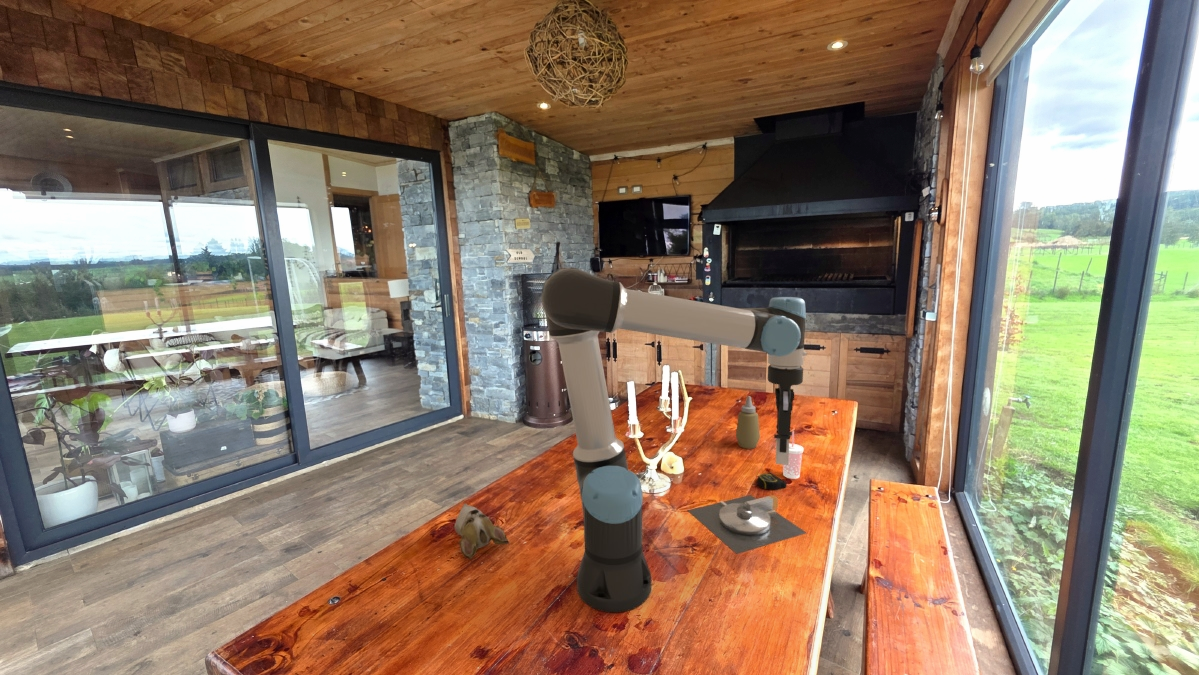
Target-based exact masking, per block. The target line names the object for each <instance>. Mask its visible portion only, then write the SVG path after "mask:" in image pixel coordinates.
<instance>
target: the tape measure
mask: <svg viewBox="0 0 1199 675" xmlns="http://www.w3.org/2000/svg"><path fill="white" fill-rule="evenodd" d="M756 484H757V485H758V487H760V488H762V489H765V490H769V491H779V490H781V489H786V488H787V486H788V485H787V482H786V481H785V480H783V479H782V478H781V477H778V476H777V475H776V474H774V473H772V472H768V473H761V474H759V475H758V476H757V479H756Z"/></svg>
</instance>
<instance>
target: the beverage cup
mask: <svg viewBox="0 0 1199 675" xmlns="http://www.w3.org/2000/svg"><path fill="white" fill-rule="evenodd" d="M791 432H792V436H791V443H790V442H789V461H788V465H782V473H783V474H782V475H783V476H784V477H786V478H787V479H792V480H795V479H800V476H801V466H802V461H803V460H802V459H803V452H804V447H803V446H802V445H800V444H796V443H795V431H794V430H792V431H791Z"/></svg>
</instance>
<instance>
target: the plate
mask: <svg viewBox="0 0 1199 675" xmlns="http://www.w3.org/2000/svg"><path fill="white" fill-rule="evenodd" d="M755 499H757V498H756V497H755V496H753V495H751V494H749V495H745V496H740V497H736V498H732V499H729V500H725V501H723V500H719V502H716V503H712V504H709V505H704V506H700V507H696V508H691V509H688V510H687V512H688V513H689V514H691V516H693V517H694V518H695V519H696V520H697V521H699V522H700V523H701V524H702V525H703V526H704V527H706V528H707V530H709V531H710V533H712V534H713V535H714V536H716V537H717V538H718V539H719V540H720V541H721V542H722V543H723V544H724V545H725V546H726V547H728V549H730V550H731V551H732V552H734V553H735V554H736V555H738V554H741V553H745V552H748V551H751V550H755V549H758V548H762V547H765V546H768V545H772V544H776V543H777V542H778V543H779V542H781V541H785V540H789V539H792V538H794V537H799V536H802V535H805V534H807V532H806V531H804V530H803V529H801V527H799V526H797V525H796V524H795V523H793V522H792V521H791V520H788V519H787V518H785V517H784V516H783V515H781V514H780V513H778V512H777V511H776V509H775V510H771V511H768V512H767V513H768V514H769V516H770V528H769V529H768V531H766V532H764V533H762V534H758V535H744V534H739V533H735V532H733V531H730V530H728V529H727V528H725V527H724V526H723V525H722V524H721V523H720V520H719V512H720V509H721V508H722V507H724V506H726V505H728V504H733V503H744V504H746V502H747V501H751V500H755Z"/></svg>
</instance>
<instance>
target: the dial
mask: <svg viewBox="0 0 1199 675" xmlns="http://www.w3.org/2000/svg"><path fill="white" fill-rule="evenodd" d="M778 502H779V497H777V496H776V495H774V494H772V495H767V496H764V497H760V498H756V499H755V500H751V501H747V502H746V504H744V503H733V504H728V505H726V506H724V507H722V508H721V509H720V512H719V520H720V523H721V524H722V525H723V526H724V527H725V528H727V529H728V530H730V531H733V532H735V533H739V534H744V535H758V534H762V533H764V532H766V531H768V529H769V528H770V516H769V514H768V513H767V512H768V511H771V510H775V511H776V510H777V509H779V507H778V506H779V505H778V504H779V503H778Z"/></svg>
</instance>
